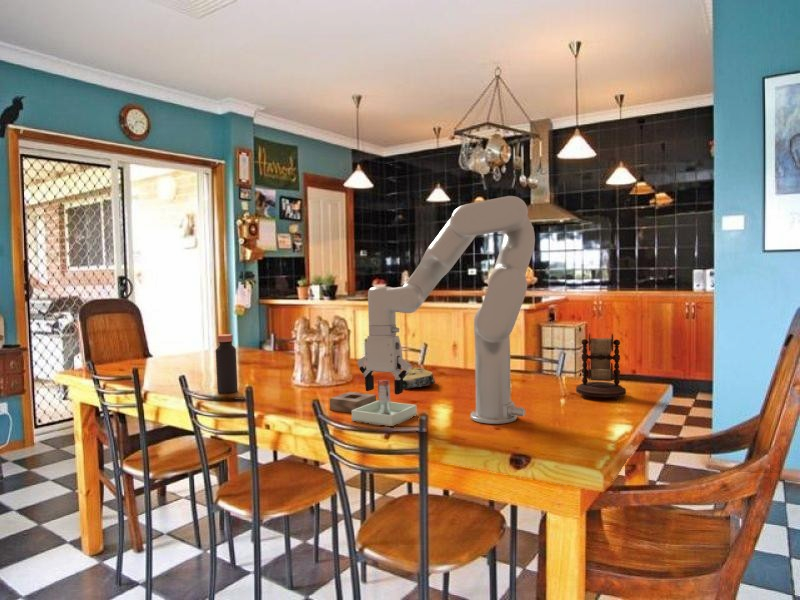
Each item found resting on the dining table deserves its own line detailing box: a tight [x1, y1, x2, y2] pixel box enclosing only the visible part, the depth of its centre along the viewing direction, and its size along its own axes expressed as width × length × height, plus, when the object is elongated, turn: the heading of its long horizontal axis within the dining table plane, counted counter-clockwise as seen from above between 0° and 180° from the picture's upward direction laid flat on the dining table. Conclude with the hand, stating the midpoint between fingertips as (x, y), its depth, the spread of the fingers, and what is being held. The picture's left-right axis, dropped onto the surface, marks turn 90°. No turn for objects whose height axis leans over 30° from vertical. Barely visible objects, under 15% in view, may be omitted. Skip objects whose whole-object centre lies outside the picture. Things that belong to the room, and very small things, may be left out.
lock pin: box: [377, 379, 391, 415], centre depth 159 cm, size 3×3×10 cm
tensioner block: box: [329, 391, 377, 414], centre depth 172 cm, size 10×10×4 cm
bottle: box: [215, 333, 239, 394], centre depth 199 cm, size 7×7×20 cm
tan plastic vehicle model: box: [394, 366, 436, 390], centre depth 208 cm, size 14×6×30 cm
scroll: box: [575, 332, 627, 402], centre depth 179 cm, size 15×15×20 cm
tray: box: [351, 399, 418, 427], centre depth 160 cm, size 13×13×3 cm
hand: (384, 391), depth 159 cm, fingers open, 9 cm apart
